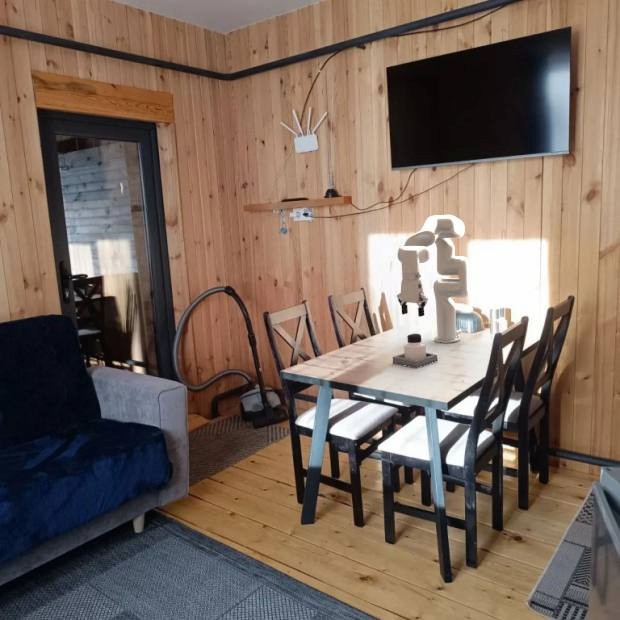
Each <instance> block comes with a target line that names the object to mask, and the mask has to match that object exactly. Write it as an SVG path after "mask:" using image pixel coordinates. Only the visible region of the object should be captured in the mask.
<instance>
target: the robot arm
mask: <svg viewBox="0 0 620 620" xmlns="http://www.w3.org/2000/svg"><path fill="white" fill-rule="evenodd" d="M465 229H466V228H465V224H464V222H463V220H461V219H460V218H458V217H457V216H454V215H452V214H442V215H441V214H440V215H431V216H429V217H428V218H427V219H426V220H425V222H424V224H423V225H422V226H421V229H420V230H419V231H418V232H416V233H413V234H412V235H410V236H408V237H407V238H405V239H404V240H403V241H402V242H401V245H400V246H399V248H398V250H397V259H398V261H399V262H400V264H401V277H402V279H401V282H400V292H399V293H398V294H397V295H396V298H397V301H398V303H399V304H400V306H401V315H407V314H408V313H409V312H408V311H409V310H408V304H407V303H409V304H410V303H411V304H416V305H417V306H418V308H417V312H418V313H417V314H418V315H417V316H418V317H419V318H420V317H424V316H425V307H426V306H427V303H428V300H429V297H427V295H425V291H424V285H423V281H422V279H421V277H422V275H421V274H420V264H423V263H426V262H428V261H429V260H430V257H431V251H430V249H429V248H428V247H430V246H432V245H434V244H435V245H436V271H437V273H438V275H440V276H445V277H446V276H447V278H439V279H436V280H435V281H434V283H433V287H432V288H433V293H434V294H433V295H434V298H435V306H436V307H435V309H436V331H437V332H436V334H437V336H435V337H434V342H437V343H440V342H441V343H443V344H447V343H449V344H451V343H457V342H460V340H461V338H460V336H458V335H459V334H462V332H463V330H462V329H459V330H458V329H457V311H456V310H457V308H456V304H455V301H454V300H453V299H452V298H458V299H459V298H461V299H462V298H466V297H468V296H469V293H470V286H471V285H470V283H471V282H470V280H471V279H470V275H471V274H470V273H471V272H470V271H471V267H470V266H471V265H470V261H469V259H468V257H465V256H461V255H459V256H458V255H456V254H455V245H454V243H453V241H452V240H451V239H459V238H462V237H463V236H464V235H465ZM448 276H449V278H448ZM450 276H451V277H453V276H455V278H450ZM456 277H458V278H456Z"/></svg>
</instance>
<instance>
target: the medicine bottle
mask: <svg viewBox="0 0 620 620" xmlns="http://www.w3.org/2000/svg"><path fill="white" fill-rule="evenodd" d="M403 350H404V351H403V353H404V354H405V359H410V360H415V361H417V360H420V359H423V358H426V353H427V348H426V344H422V335H421V334H420V333H416V332H415V333H409V334H407V344H404V345H403Z"/></svg>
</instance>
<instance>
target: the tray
mask: <svg viewBox="0 0 620 620" xmlns="http://www.w3.org/2000/svg"><path fill="white" fill-rule="evenodd" d="M435 361H437V362H438V361H439V357H438V354H435V353H430V352H426V358H423V359H420V360H417V361H415V360H410V359H405V354H404V352H403V353H401V354H398V355H394V356H392V364H394V363H397V364H396V365H399V364H401V365H400V366H403V365H406V366H405V367H408V366H410V367H409V368H412V367H416V368H415V369H418V368H417V367H419V368H421V367H420V366H422V367H425V366H428V365H431V364H433V363H432V362H434V363H436V362H435ZM430 363H431V364H430ZM427 364H428V365H427ZM424 365H425V366H424Z"/></svg>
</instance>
